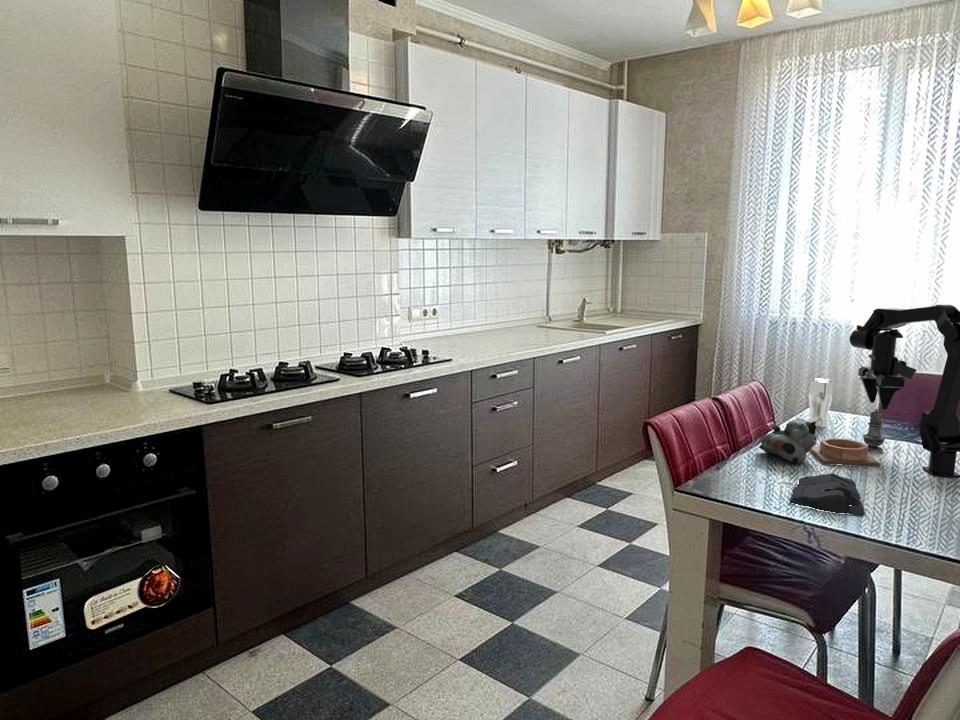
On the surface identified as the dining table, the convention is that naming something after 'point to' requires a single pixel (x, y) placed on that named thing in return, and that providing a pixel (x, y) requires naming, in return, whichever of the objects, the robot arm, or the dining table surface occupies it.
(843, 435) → the dining table surface
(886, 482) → the dining table surface
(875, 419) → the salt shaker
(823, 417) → the beer glass
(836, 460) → the collar board
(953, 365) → the robot arm
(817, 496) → the dark slate chunk
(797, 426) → the lucky cat figurine
